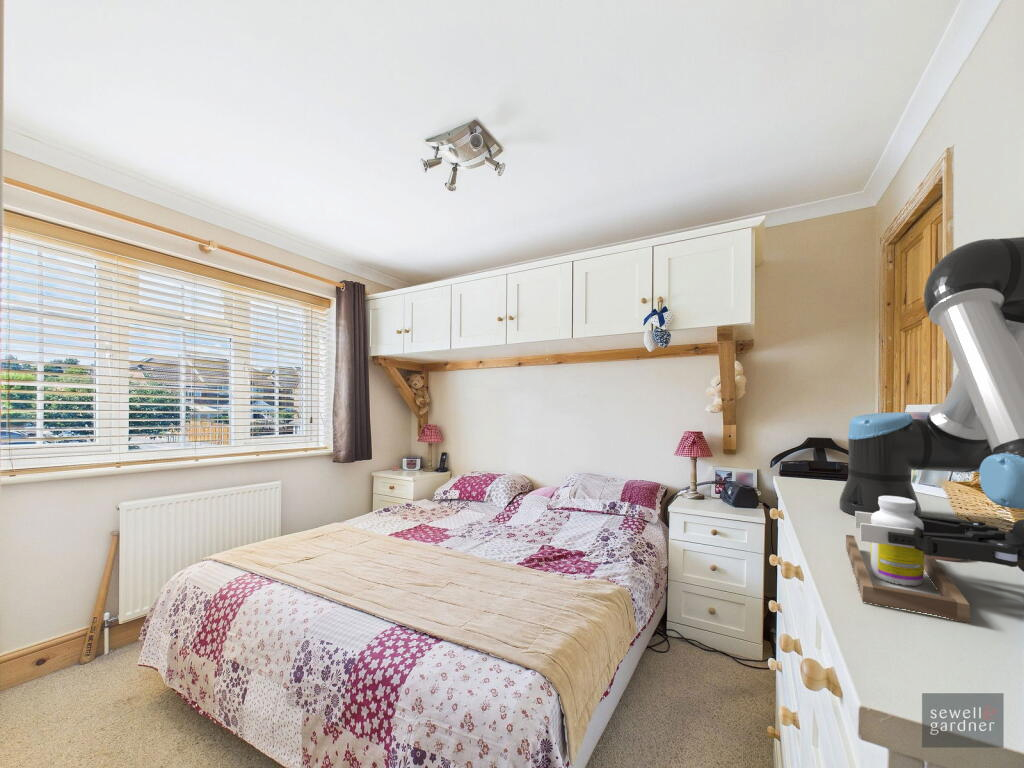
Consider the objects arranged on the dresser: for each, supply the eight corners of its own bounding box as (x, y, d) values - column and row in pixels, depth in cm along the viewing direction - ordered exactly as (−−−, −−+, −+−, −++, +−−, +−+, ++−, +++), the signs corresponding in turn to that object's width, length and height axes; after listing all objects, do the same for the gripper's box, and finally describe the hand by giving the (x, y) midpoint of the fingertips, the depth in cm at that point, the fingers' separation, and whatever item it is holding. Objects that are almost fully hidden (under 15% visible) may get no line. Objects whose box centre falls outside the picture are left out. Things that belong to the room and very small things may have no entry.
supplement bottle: (934, 589, 72) (934, 506, 72) (884, 585, 74) (885, 504, 73) (907, 571, 79) (907, 494, 79) (862, 568, 80) (862, 493, 80)
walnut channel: (846, 547, 90) (846, 534, 90) (924, 559, 84) (924, 545, 84) (862, 602, 68) (862, 585, 68) (969, 623, 63) (969, 604, 63)
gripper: (1096, 606, 59) (865, 568, 70) (1028, 553, 76) (851, 530, 87) (1097, 546, 59) (865, 518, 70) (1029, 506, 75) (851, 490, 87)
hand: (858, 525), depth 79 cm, fingers closed on supplement bottle, 7 cm apart
